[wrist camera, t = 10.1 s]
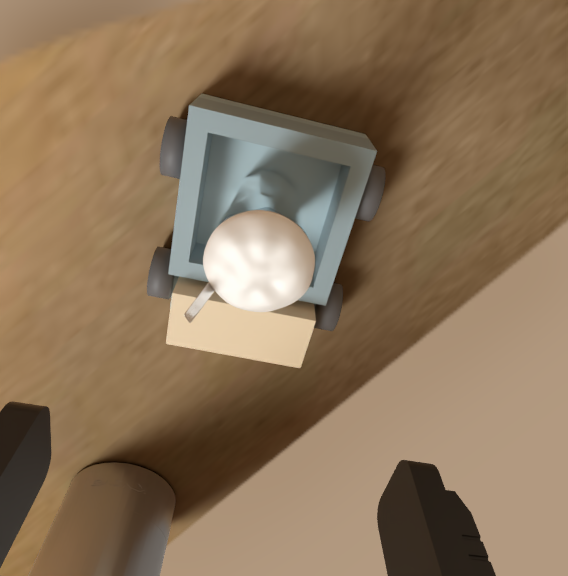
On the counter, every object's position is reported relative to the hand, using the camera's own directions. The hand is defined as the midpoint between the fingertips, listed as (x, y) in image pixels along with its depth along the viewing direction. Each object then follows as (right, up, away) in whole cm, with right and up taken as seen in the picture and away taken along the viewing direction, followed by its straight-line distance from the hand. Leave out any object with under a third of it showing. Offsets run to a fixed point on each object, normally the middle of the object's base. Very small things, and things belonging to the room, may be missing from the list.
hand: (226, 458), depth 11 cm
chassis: (0, +8, +17) cm, 19 cm away
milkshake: (0, +9, +15) cm, 18 cm away
